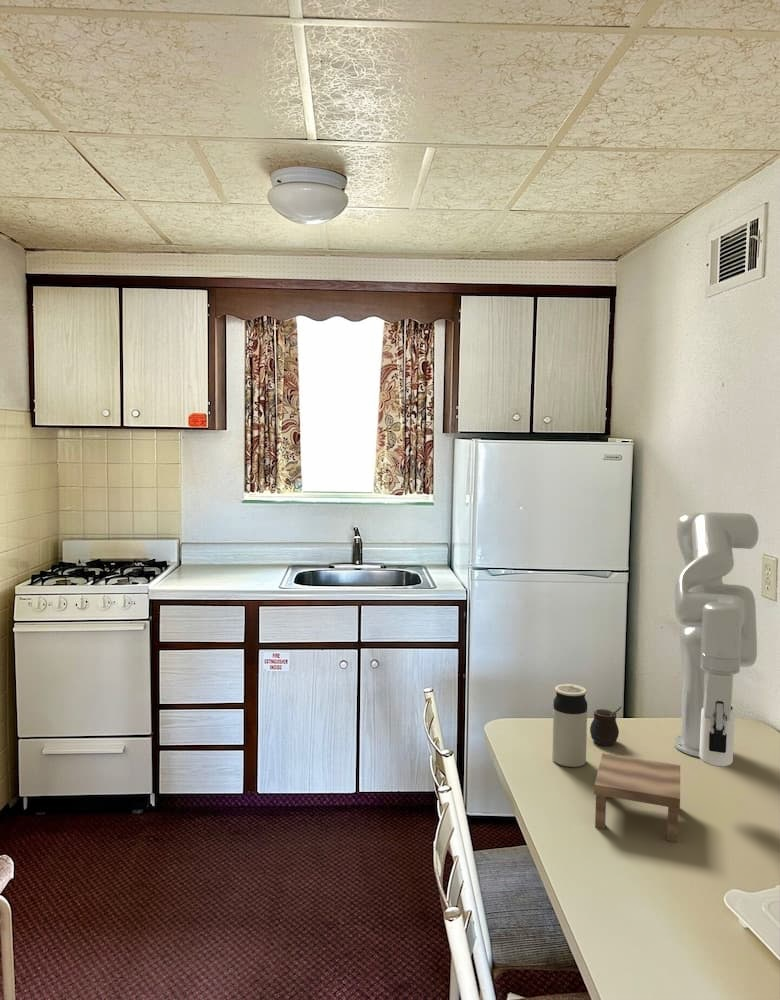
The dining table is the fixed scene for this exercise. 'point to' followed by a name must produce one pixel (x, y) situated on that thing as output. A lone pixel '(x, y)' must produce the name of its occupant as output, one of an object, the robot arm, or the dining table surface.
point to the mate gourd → (604, 727)
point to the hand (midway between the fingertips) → (716, 743)
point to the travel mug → (569, 725)
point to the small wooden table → (638, 786)
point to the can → (705, 753)
